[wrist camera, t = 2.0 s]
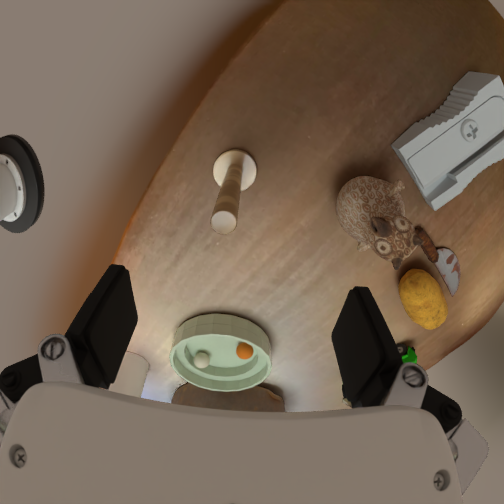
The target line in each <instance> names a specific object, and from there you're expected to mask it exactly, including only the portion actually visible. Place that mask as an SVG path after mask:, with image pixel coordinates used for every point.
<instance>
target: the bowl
mask: <svg viewBox="0 0 504 504" xmlns="http://www.w3.org/2000/svg"><path fill="white" fill-rule="evenodd" d="M241 343H247V344H249V345H251V346H252V347H253V350H254V352H253V355H252V357H251V358H249V359H246V360H244V359H241V358H239V357H238V356H237V354H236V348H237V346H238V345H239V344H241ZM200 352H202V353H206V354H207V355H208V356H209V358H210V363H209V365H208V366H207V367H206V368H198V367H197V366H196V365H195V364H194V356H195V355H196V354H197V353H200ZM169 358H170V363H171V366H172V368H173V369H174V371H175V372H176V373H177V374H178V375H179V376H180V377H181V378H183V379H184V380H185V381H187V382H189V383H191V384H193V385H195V386H197V387H200V388H204V389H208V390H212V391H223V392H230V391H241V390H245V389H248V388H252V387H254V386H256V385H258V384H260V383H262V382H263V381H264V380H265V379H266V378H267V377H268V376H269V374H270V371H271V368H272V358H271V346H270V342H269V338H268V336H267V335H266V334H265V333H264V332H263V330H262V329H261V328H260V327H258V326H257V325H255V324H254V323H252V322H250V321H249V320H246V319H243V318H240V317H237V316H233V315H225V314H208V315H200V316H197V317H195V318H192V319H190V320H187V321H185V322H184V323H183V324H182V325H181V326H180V327H179V328H178V329H177V331H176V334H175V336H174V340H173V344H172V347H171V351H170V355H169Z"/></svg>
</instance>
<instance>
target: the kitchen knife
mask: <svg viewBox="0 0 504 504" xmlns="http://www.w3.org/2000/svg"><path fill="white" fill-rule="evenodd" d="M415 232H416V234H417V235H418V236H419V237H420V238H421V239H422V240H423V241H424V243H423V245H421V247H422V249H423V251H424V253H425V254H426V255H427V256H428V259H429V260H430V261H431V262H432V263H434V264H435V266H436V267H437V269H438V271H439V273H440V274H441V276H442V278H443V280H444V281H445V283H446V285H447V287H448V289H449V291H450V293H451V296H452V297H453V295H454V294H455V293H456V291H457V290H458V286H459V281H460V265H459V262H458V259H457V257H456V256H455V254H454V253H453V252H452V251H450V250H449V249H446V248H441V249H437V250H436V248H435V246H434V244H433V243H432V241H431V240H430V238H429V237H428V235H427V234H426V233H425V232H424V230H423V229H422V228H417V229H416V231H415Z"/></svg>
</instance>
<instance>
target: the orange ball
mask: <svg viewBox="0 0 504 504" xmlns="http://www.w3.org/2000/svg"><path fill="white" fill-rule="evenodd" d="M253 352H254V350H253V347H252V346H251V345H249V344H247V343H241V344H239V345H238V346H237V348H236V354H237V356H238V357H239V358H241V359H244V360H246V359H249V358H251V357H252V355H253Z"/></svg>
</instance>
